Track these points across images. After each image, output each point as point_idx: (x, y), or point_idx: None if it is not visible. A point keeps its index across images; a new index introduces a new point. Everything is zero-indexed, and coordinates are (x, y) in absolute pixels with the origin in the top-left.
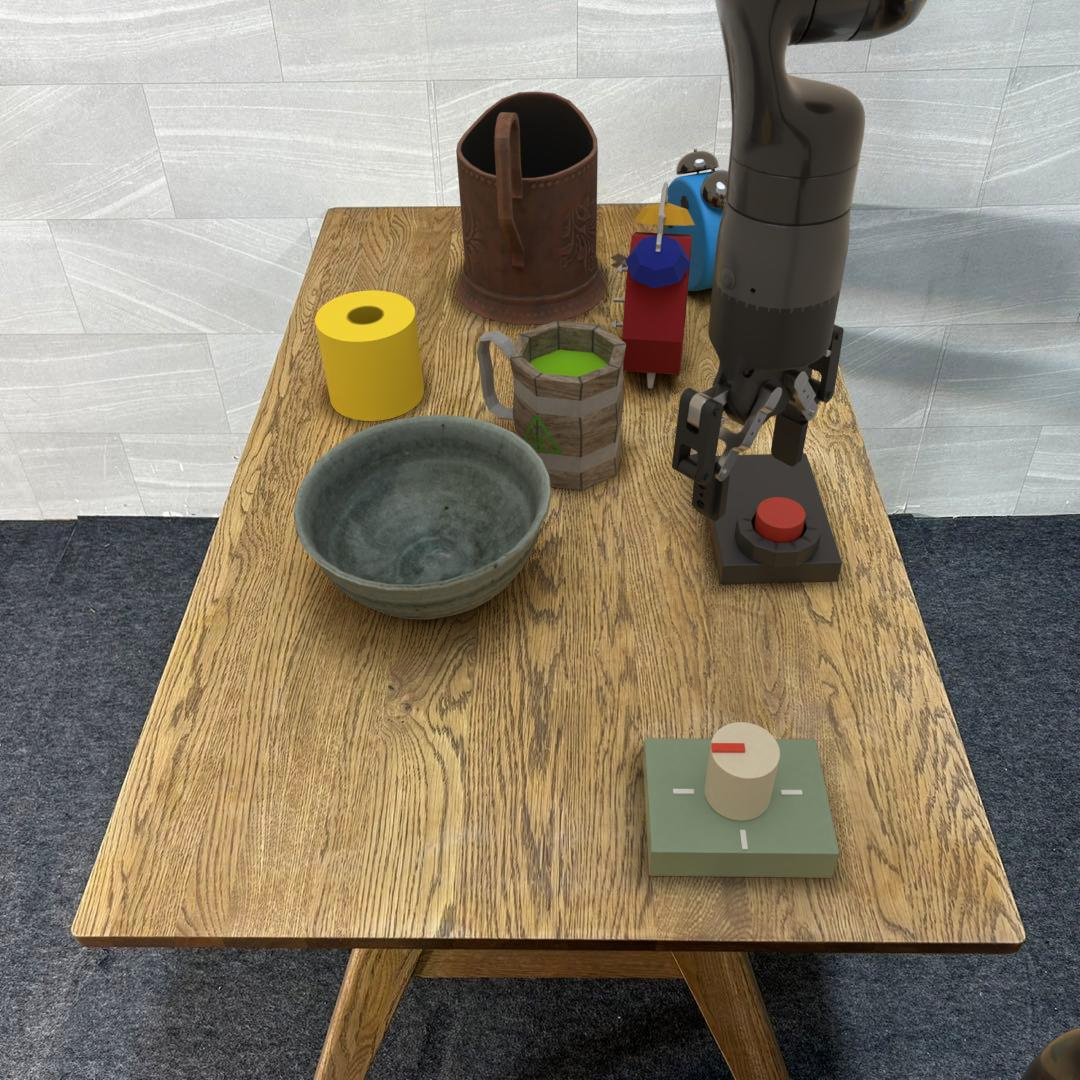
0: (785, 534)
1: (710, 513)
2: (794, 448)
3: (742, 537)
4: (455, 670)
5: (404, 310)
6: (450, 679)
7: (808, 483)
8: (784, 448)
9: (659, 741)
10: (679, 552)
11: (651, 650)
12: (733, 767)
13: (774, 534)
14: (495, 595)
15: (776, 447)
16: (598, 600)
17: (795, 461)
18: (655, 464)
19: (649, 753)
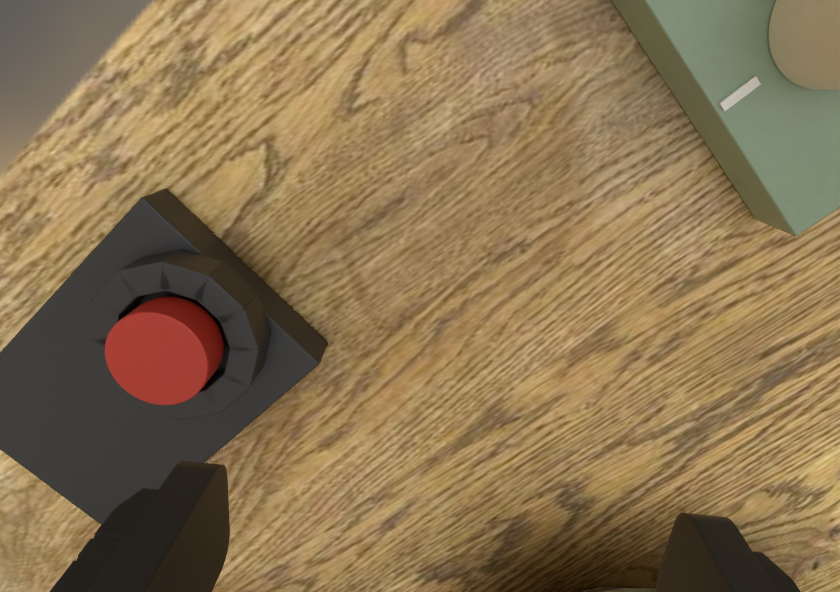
0: (194, 319)
1: (767, 566)
2: (186, 538)
3: (254, 377)
4: (740, 526)
5: None
6: (759, 521)
7: (12, 363)
8: (201, 557)
9: (791, 211)
10: (315, 431)
11: (533, 344)
12: None
13: (210, 336)
14: (651, 589)
15: (210, 575)
16: (493, 462)
17: (213, 479)
18: None
19: (825, 209)
